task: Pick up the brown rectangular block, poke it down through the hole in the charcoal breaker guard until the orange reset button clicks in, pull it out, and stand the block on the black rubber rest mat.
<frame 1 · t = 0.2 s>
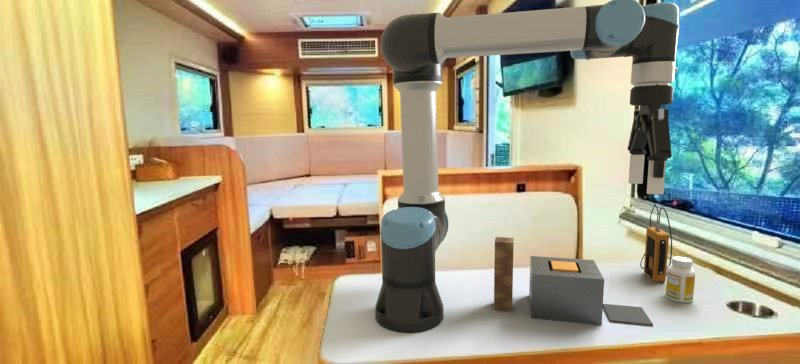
hand: (644, 188, 87), 28 cm above the table, fingers open, 13 cm apart
brown rectangular block: (503, 307, 94), on the table
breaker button: (563, 279, 92), point 7 cm above the table, slide at 0.0 cm
multimeter: (668, 279, 109), on the table
supplement bottle: (678, 299, 97), on the table
breaker guard: (562, 309, 93), on the table
rest mat: (626, 315, 89), on the table
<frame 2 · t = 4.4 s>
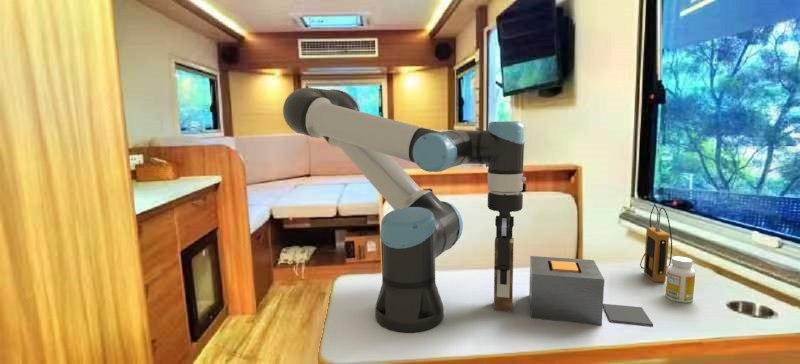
hand: (503, 292, 94), 4 cm above the table, fingers closed on brown rectangular block, 4 cm apart
brown rectangular block: (503, 307, 94), on the table, touching gripper
everything else where it was.
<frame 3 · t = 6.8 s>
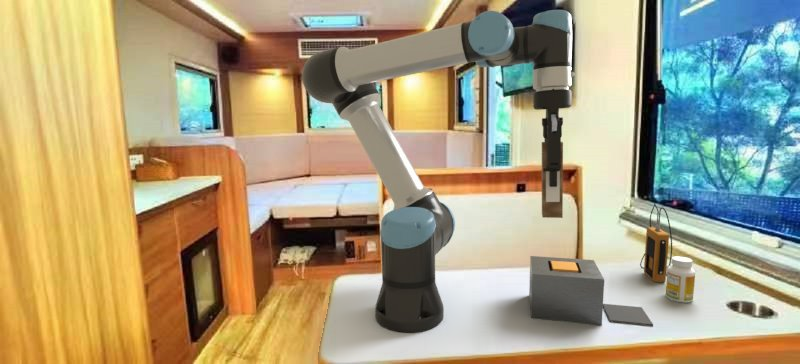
hand: (551, 199, 89), 25 cm above the table, fingers closed on brown rectangular block, 4 cm apart
brown rectangular block: (551, 215, 90), point 22 cm above the table, touching gripper
everything else where it was.
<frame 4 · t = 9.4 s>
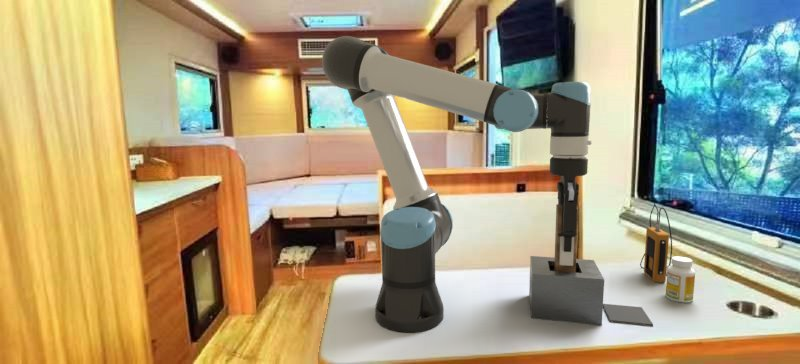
hand: (564, 261, 91), 11 cm above the table, fingers closed on brown rectangular block, 4 cm apart
brown rectangular block: (564, 276, 92), point 8 cm above the table, touching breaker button, gripper
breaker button: (563, 290, 92), point 5 cm above the table, slide at 2.6 cm, touching brown rectangular block
everything else where it was.
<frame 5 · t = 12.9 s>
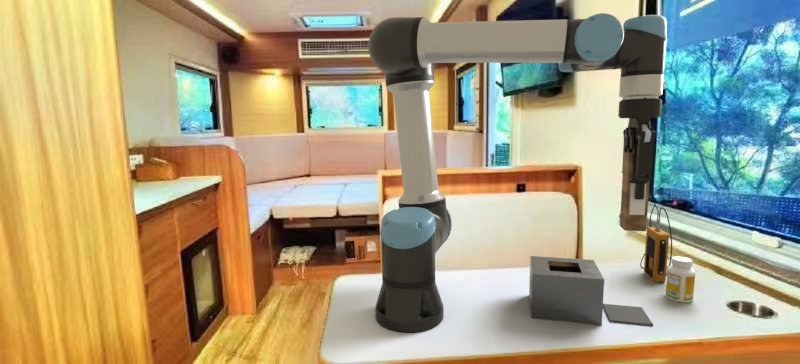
hand: (633, 211, 86), 23 cm above the table, fingers closed on brown rectangular block, 4 cm apart
brown rectangular block: (632, 228, 86), point 19 cm above the table, touching gripper
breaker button: (563, 290, 92), point 5 cm above the table, slide at 2.6 cm
everything else where it was.
when the fingers open (6 cm above the table, at t = 16.1 s): brown rectangular block drops 2 cm, resting on rest mat.
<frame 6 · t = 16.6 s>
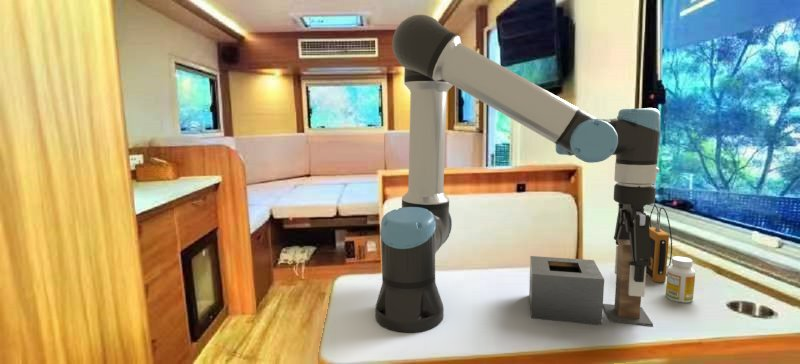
hand: (628, 284, 88), 7 cm above the table, fingers open, 11 cm apart
brown rectangular block: (626, 313, 89), resting on rest mat
everything else where it was.
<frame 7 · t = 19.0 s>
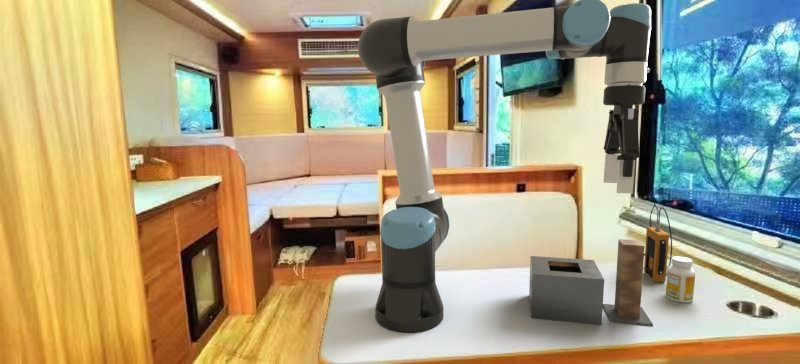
hand: (616, 187, 87), 28 cm above the table, fingers open, 13 cm apart
nothing on the table moved.
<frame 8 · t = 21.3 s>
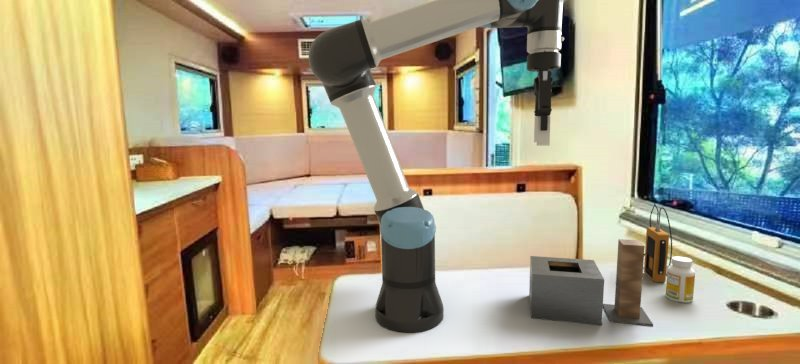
hand: (541, 143, 99), 37 cm above the table, fingers open, 13 cm apart
nothing on the table moved.
at the end: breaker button slide at 2.6 cm; brown rectangular block 0.0 cm off-centre on the rest mat, point 0.4 cm above the rest mat's base; brown rectangular block tilted 0° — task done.
